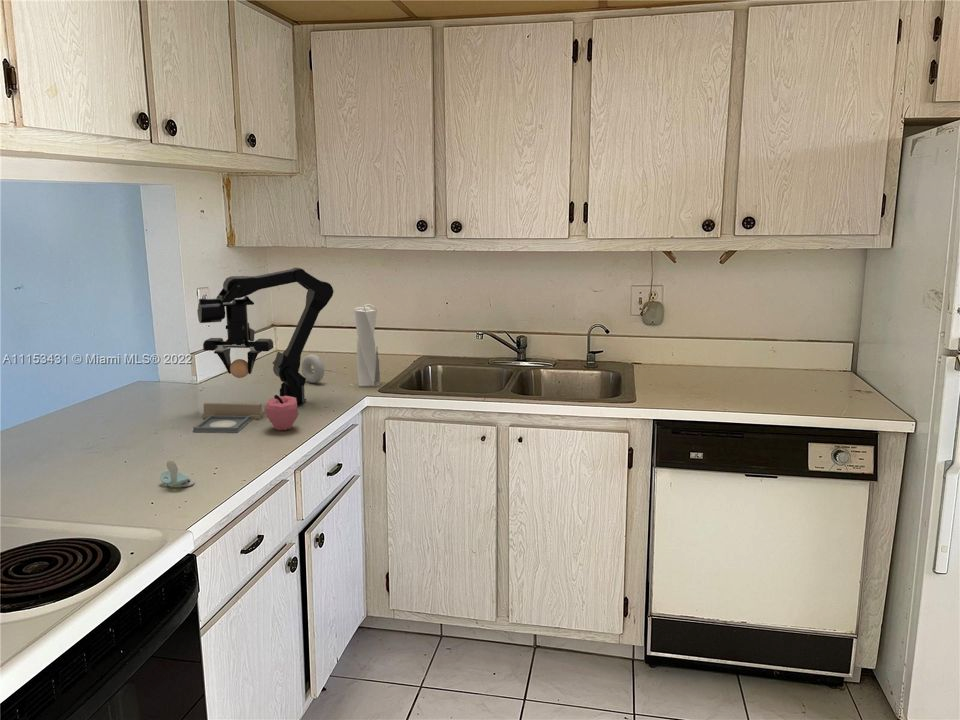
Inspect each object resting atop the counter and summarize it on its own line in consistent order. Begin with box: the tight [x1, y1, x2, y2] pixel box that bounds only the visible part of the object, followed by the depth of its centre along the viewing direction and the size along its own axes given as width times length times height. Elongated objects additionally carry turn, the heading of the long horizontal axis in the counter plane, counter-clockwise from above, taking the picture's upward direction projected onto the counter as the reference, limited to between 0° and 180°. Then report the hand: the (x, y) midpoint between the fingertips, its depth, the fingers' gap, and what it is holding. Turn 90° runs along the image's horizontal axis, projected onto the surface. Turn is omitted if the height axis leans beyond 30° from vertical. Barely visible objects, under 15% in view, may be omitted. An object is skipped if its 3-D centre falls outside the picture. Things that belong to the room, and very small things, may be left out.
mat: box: [192, 416, 253, 434], centre depth 198 cm, size 12×12×1 cm
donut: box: [301, 353, 325, 384], centre depth 246 cm, size 10×3×10 cm, turn 53°
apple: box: [264, 394, 299, 431], centre depth 195 cm, size 10×9×10 cm
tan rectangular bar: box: [202, 402, 264, 420], centre depth 205 cm, size 16×3×4 cm, turn 90°
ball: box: [230, 358, 249, 379], centre depth 211 cm, size 6×6×6 cm
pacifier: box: [159, 458, 196, 488], centre depth 156 cm, size 7×6×6 cm
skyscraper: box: [353, 303, 381, 388], centre depth 242 cm, size 8×8×28 cm
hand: (240, 373), depth 211 cm, fingers closed on ball, 5 cm apart
